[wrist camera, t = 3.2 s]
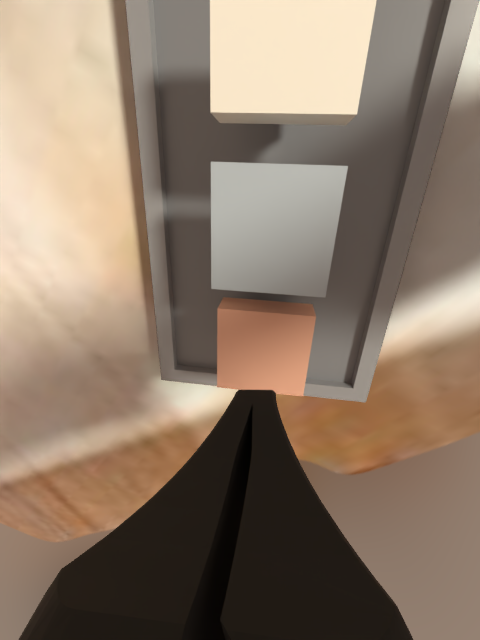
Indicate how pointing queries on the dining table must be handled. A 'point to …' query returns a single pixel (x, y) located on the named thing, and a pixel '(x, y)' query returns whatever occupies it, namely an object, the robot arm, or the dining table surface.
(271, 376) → the tan small block
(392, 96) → the grey rectangular tray
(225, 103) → the cream square block
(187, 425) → the dining table surface
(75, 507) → the dining table surface
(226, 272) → the key light grey
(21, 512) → the dining table surface
